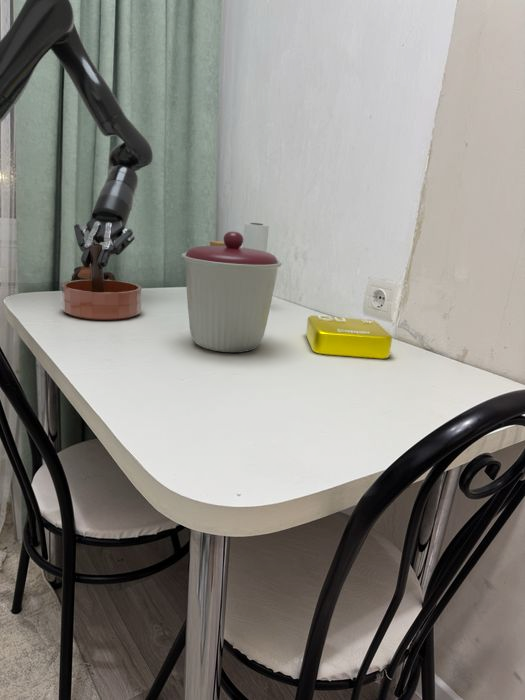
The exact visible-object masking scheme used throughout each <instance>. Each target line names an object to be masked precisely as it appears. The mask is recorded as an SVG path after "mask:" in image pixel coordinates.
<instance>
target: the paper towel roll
mask: <svg viewBox="0 0 525 700" xmlns="http://www.w3.org/2000/svg"><path fill="white" fill-rule="evenodd" d="M269 228H270V226H269V225H268V224H264V223H258V222H249V223H248V222H245V223H244V228H243V243H242V248H249V249H255V250H260V251H264V252H267V249H268V239H269Z"/></svg>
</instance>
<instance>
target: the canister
mask: <svg viewBox="0 0 525 700" xmlns="http://www.w3.org/2000/svg"><path fill="white" fill-rule="evenodd" d="M243 241H244V235H242V234H241V233H240V232H238V231H227V232H226V233H225V234H224V235H223V242H224V243H225V245H226V246H210V245H201V246H194V247H191V248H189V249H188V250H187V251H185V252H183V253H181V255H180V256H181V258H182V259H183V260H184V266H185V267H184V269H185V270H184V271H185V282H186V283H185V284H186V286H185V287H186V299H187V313H188V324H189V332H190V335H191V338H192V340H193V341H194V342H195V344H196V345H198V346H199V347H201V348H204V349H207V350H209V351H214V352H221V353H242V352H243V353H244V352H249V351H252V350H254V349H256V348H257V347H258V346H259V345H260V344H261V343H262V341H263V339H264V336H265V332H266V329H267V328H266V327H267V325H268V319H269V315H270V311H271V310H270V309H271V306H272V301H273V295H274V291H275V285H276V281H277V276H278V275H277V274H278V269H279V268H280V267H281V266H282V265H283V262H282V261H281V260H280V259H278V258H277V257H276V256H275V255H274V254H273V253H270V252H267V251H266V252H264V251H260V250H255V249H249V248H243V247H241V246H243Z"/></svg>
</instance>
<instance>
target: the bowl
mask: <svg viewBox="0 0 525 700" xmlns="http://www.w3.org/2000/svg"><path fill="white" fill-rule="evenodd" d="M61 290H62V291H61V293H62V294H61V296H62V297H61V299H62V301H61V302H62V311H63V312H64V313H66V314H69V315H70V316H73V317H75V318H79V319H84V320H91V321H92V320H94V321H115V320H116V321H117V320H125V319H129V318H132V317H134V316H138V315H139V314H140V313H141V312H142V286H141V285H139V284H136V283H133V282H129V281H122V280H115V281H114V280H109V279H108V280H104V292H92V282H91V280H76V281H71V280H70V281H66V282H64V283H63V284H61Z"/></svg>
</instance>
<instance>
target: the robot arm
mask: <svg viewBox="0 0 525 700" xmlns="http://www.w3.org/2000/svg"><path fill="white" fill-rule="evenodd" d="M72 5H73V4H72V2H71V1H70V0H25V1H24V3H23V5H22V7H21V9H20V11H19V12H18V14H17V16H16V18H15V20H14V21H13V23H12V24H11V26H10V27H9V29H8V31H7V32H6V34H5V35H4V36H3V37H2V38H1V39H0V124H1V123H2V122H3V121H4V120H5V119H6V118H7V116H8V115H9V114H10V113H11V111H12V110H13V109H14V107H15V106H16V105H17V103H18V101H19V100H20V98H21V97H22V96H23V93H24V92H25V90H26V88H27V86H28V84H29V82H30V80H31V78H32V77H33V74H34V72H35V70H36V68H37V66H38V65H39V63H40V62H41V61H42V60H43V58H45V56H46V55H47V54H48V52H49V51H52V53H53V54H54V56H55V57H56V58H57V60H58V61H59V62H60V64H61V65H62V67H63V69H64V70H65V72H66V73H67V76H68V77H69V78H70V80H71V82H72V84H73V86H74V88H75V90H76V91H77V93H78V95H79V97H80V99H81V101H82V103H83V104H84V106H85V108H86V110H87V111H88V113H89V115H90V116H91V119H92V120H93V122H94V123H95V125H96V126H97V129H98V130H99V132H100V133H101V134H102V135H103V136H104V137H118V138H119V139H120V140H121V141H122V143H119V144H117V145H115V146H114V147H113V148H112V150H111V151H110V153H109V156H108V170H107V171H108V174H107V177H106V180H105V182H104V185H103V186H102V188H101V190H100V192H99V195H98V196H97V200H96V202H95V205H94V207H93V210H92V213H91V216H90V217H91V218H90V219H89V220H88V221H87V223H86V225H81V226H80V224H78V223H76V224H75V225H74V226H73V228H74V229H73V230H74V234H75V238H76V244H77V245H78V247H79V249H80V252H82V255H81V257H80V261H81V263H82V266H84V267H86V268H89V266H91V263H90V245H91V244H101V243H103V245H102V249H103V250H101V253H100V255H99V258H98V261H97V265H98V267H99V269H103V270H104V268H106V267H107V266H108V264H109V260H110V258H111V256H112V255H115V256H119V255H121V254H122V253H123V252H124V251H125V250H126V249H127V248H128V247H129V246H130V245H131V243H133V242H134V241H135V239H136V238H135V234H134V232H133V230H132V228H128V229H127V228H126V226H127V223H128V220H129V217H130V214H131V211H132V209H133V204H134V199H135V196H136V195H135V194H136V192H137V189H138V186H139V175H138V173H137V172H138V171H140V170H143V169H145V168H147V167H149V166H151V164H152V163H153V161H154V151H153V148H152V146H151V144H150V142H149V140H148V139H147V138H146V137H145V136H144V135H143V133H142V132H140V131H139V130H138V128H137V127H136V126H135V125H134V124H133V123H132V121H131V120H130V119H129V118H128V117H127V115H126V113H125V112H124V110H123V109H122V106H121V105H120V103H119V101H118V100H117V98H116V96H115V94H114V93H113V91H112V89H111V88H110V86H109V84H108V83H107V82H106V81H105V78H104V77H103V76H102V75H101V73H100V72H99V70H98V68H97V67H96V66H95V64H94V62H93V61H92V59H91V58H90V55H89V54H88V52H87V50H86V48H85V46H84V44H83V42H82V40H81V37H80V35H79V32H78V30H77V27H76V24H75V13H74V10H73V9H74V8H73V6H72ZM87 232H89V233H88V235H87ZM86 236H87V240H85V237H86Z"/></svg>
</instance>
